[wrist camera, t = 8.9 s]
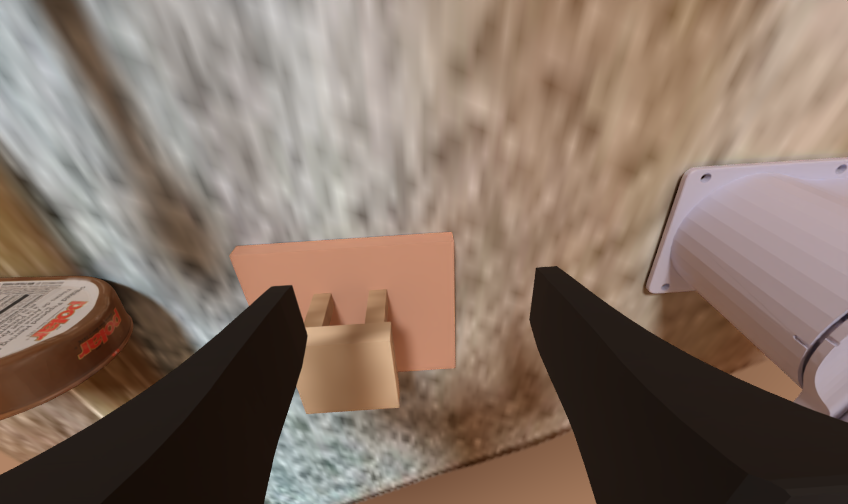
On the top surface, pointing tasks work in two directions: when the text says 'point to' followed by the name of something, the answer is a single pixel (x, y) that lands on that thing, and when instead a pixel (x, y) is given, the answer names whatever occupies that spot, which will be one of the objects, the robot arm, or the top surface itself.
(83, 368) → the tin
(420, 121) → the top surface
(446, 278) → the mat
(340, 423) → the top surface
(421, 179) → the top surface
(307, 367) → the toy stool
